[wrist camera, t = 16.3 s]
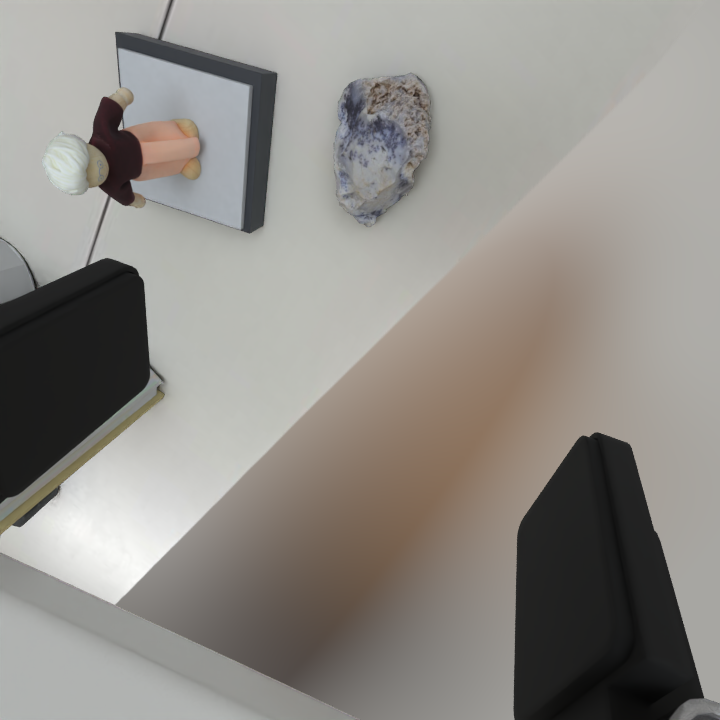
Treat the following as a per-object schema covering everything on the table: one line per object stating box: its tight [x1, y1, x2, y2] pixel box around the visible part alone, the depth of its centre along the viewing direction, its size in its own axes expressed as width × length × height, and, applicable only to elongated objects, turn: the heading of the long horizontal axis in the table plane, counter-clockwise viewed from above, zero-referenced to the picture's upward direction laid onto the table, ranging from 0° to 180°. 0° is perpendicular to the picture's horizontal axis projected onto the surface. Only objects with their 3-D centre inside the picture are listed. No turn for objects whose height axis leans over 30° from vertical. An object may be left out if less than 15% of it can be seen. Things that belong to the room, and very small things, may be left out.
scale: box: [115, 32, 277, 233], centre depth 38 cm, size 12×12×3 cm
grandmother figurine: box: [42, 87, 201, 208], centre depth 31 cm, size 8×4×13 cm, turn 1°
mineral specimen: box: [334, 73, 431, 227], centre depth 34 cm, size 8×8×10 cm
